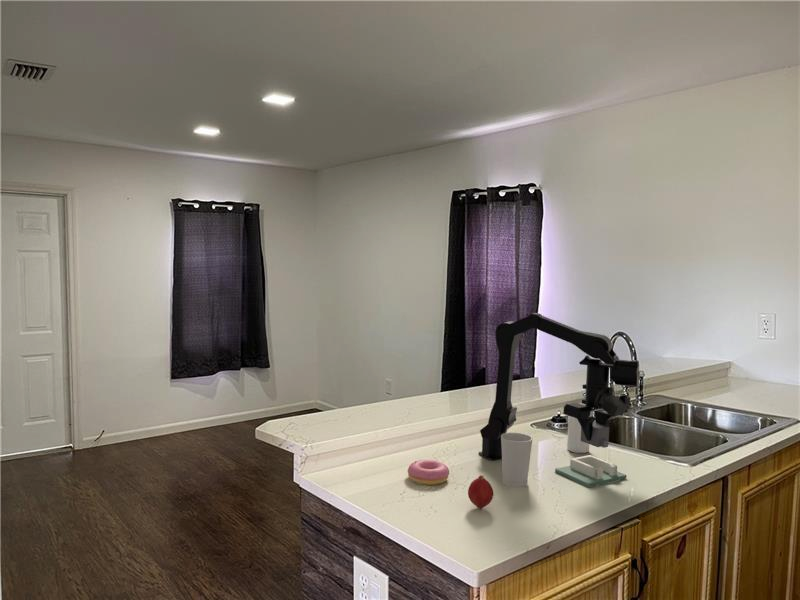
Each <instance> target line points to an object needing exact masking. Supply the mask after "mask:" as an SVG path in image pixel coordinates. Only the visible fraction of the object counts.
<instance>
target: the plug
mask: <svg viewBox="0 0 800 600" xmlns="http://www.w3.org/2000/svg"><path fill="white" fill-rule="evenodd" d="M609 438H610V426H605V425H602V424H599V423H596V421H594V422H593V428H592V437H591V441H588V440H587V439H586V437H585V435H584V432H583V430H582V427H581V441H582V442H585V443H588V444H589V446H590V445H591V446H594V447H596V448H605V449H606V448H609V440H610V439H609Z"/></svg>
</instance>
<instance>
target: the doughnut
mask: <svg viewBox="0 0 800 600" xmlns="http://www.w3.org/2000/svg"><path fill="white" fill-rule="evenodd" d="M407 475H408V477H409V479H410V480H411V481H413V482H414V483H416V484H418V485H424V486H436V485H440V484H441V485H442V484H443V483H445V482H446V481H447V480H448V479H449V475H450V470H449V467H448V466H447V465H446V464H445V463H443V462H441V461H438V460H436V459H419V460H415V461H413V462H412V463H410V465H409V466H408V468H407Z"/></svg>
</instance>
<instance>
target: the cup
mask: <svg viewBox="0 0 800 600" xmlns="http://www.w3.org/2000/svg"><path fill="white" fill-rule="evenodd" d="M501 445H502V458H501V463H502V483H503V484H504V485H506V486H508V487H512V488H523V487H527V486H528V480H529V479H528V478H529V469H530V462H531V455H532V454H531V453H532V445H533V437H532V436H531V435H529V434H526V433H522V432H506V433H505V434H502V435H501Z"/></svg>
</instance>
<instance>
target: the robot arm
mask: <svg viewBox="0 0 800 600" xmlns="http://www.w3.org/2000/svg"><path fill="white" fill-rule="evenodd" d="M533 329H535V330H539V331H540V332H543V333H545V334H548V335H550V336H553V337H555V338H557V339H560V340H563V341H564V342H567V343H570V344H571V345H574V346H575V347H577V348H578V349H579V350H580V351H581V352H583V353H584V354H586V355H585V357H584V358H583V359H582V360H581V361H579V362H578V363H579V365H582V366H586V378H585V381H586V383H585V384H582V389H583V390H585V398H584V399H581V403H582V404H580V403H578V402H571V403H566V404H564V406H563V415H566V416H567V417H569V416H571V417H574V418H577V419H578V421H579V423H580V425H581V427H582V430H583V432H584V435H585V437H586V439H587V440H588V441H591V437H592V428H593V422H596V423H599V424H602V425H605V426H608V425H609V423H610V421H611V420H613V419H615V417H618V416H624V414H625V413H629V411H628V410H629V409H630V405H631V398H630V396H628V395H627V394H623V395H620V396H619V395H615V394H614V393H613V392H614V391H613V387H612V386H609V385H610V384H609V383H610V382H609V381H610V380H611V381H612V382H613V383H614V385H615V386H617V385H618V386H623V387H633V388H634V387H635V388H638V387H639V384H640V377H641V372H640V365H639V364H640V361H639V360H634V359H633V360H627V359H626V360H625V359H620V358H619V356H618V355H617V353H616V352H615V350H614V349H613V345H612V341H611V339H610V338H609V337H608V336H607V335H605V334H601V333H600V334H599V333H595V332H588V331H584V330H583V331H582V330H579V329H576V328H574V327H572V326H569V325H567V324H564V323H562V322H559V321H558V320H557V321H556V320H554V319H551V318H549V317H547V316H545V315H543V314H541V313H540V312H539V313H538V312H534V313H530V314H528V316H526V317H523V318H521V319H518V320H516V321H513V320H511V321H506V322H502V323H500V324H499V325H497V326H496V329H495V333H494V334H495V344H496V347H497V351H498V363H497V375H496V387H495V400H494V403H493V405H492V408H491V410H490V414H489V418H488V421H487V422H488V423H487V424H486V425H485V426H484V427H482V428H481V429H480V430H479V432H480V435H481V438H482V439H481V441H482V444H481V445H482V446H481V451H478V455H480V456H482V457H484V458H486V459H488V460H491V461H495V460H500V459H501V460H502V445H501V435H502V434H505V433H508V430H509V429H511V428H512V427H513V425H514V423H515V422H516V421H517V411H518V407H517V406H513V404H512V391H513V390H512V389H513V377H514V376H513V375H514V366H515V365H514V364H515V354H516V352H517V348H518V346H519V343H520V341H521V337H522V334H524V333H527V332H529V331H531V330H533ZM608 427H609V426H608Z"/></svg>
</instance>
